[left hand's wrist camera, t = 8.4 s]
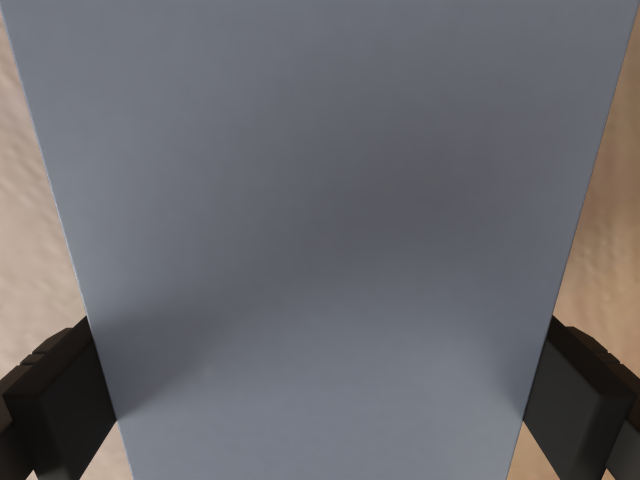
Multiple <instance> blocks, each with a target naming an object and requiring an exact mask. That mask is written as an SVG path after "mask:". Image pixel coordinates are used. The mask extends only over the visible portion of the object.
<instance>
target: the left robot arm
mask: <svg viewBox="0 0 640 480" xmlns="http://www.w3.org/2000/svg"><path fill="white" fill-rule="evenodd" d="M607 351H608V350H606V349H605V348H604V347H603V346H602V345H601V344H600V343H598V342H597V341H596V340H595V339H594V338H593V337H591V336H589V335H587V334H586V333H584V332H582V331H580V330H579V329H577V328H575V327H565V326H564V325H563V324H562V323H561V322H560V321H559V320H558V319H557V318H556V317H554V316H553V315H552V318H551V322H550V325H549V329H548V332H547V336H546V339H545V343H544V347H543V350H542V354H541V357H540V361H539V365H538V368H537V372H536V375H535V379H534V382H533V386H532V390H531V393H530V397H529V400H528V404H527V408H526V411H525V415H524V418H523V421H524V423H525V424H526V426H527V427H528V429H529V431H530V432H531V434H532V435H533V437H534V439H535V440H536V442H537V443H538V445H539V447H540V448H541V450H542V451H543V453H544V454H545V456H546V458H547V459H548V461H549V462H550V464H551V466H552V467H553V469H554V470H555V472H556V474H557V475H558V477H559V478H560V480H601V479H602V477H603V475H604V472H605V470H606V468H607V469H608V470H609V472H610V473H611V474H612V476H613V477H614V478H615V480H640V379H639V378H638V377H637V376H636V375H635V374H634V373H633V372H631V371H630V370H629V369H628V368H627V367H626V366H625V365H623V364H620V361H619V360H618V359H617V358H616V357H614V356H613V355H612V354H611V353H608V352H607ZM115 422H116V417H115V414H114V410H113V407H112V403H111V400H110V396H109V393H108V389H107V386H106V382H105V379H104V375H103V372H102V368H101V364H100V361H99V357H98V354H97V350H96V347H95V343H94V340H93V336H92V333H91V329H90V326H89V322H88V319H87V315H86V316H85V317H84V318H83V319H82V320H81V321H80V322H79V323H78V324H77V325H75V326H74V327H73V328H65V329H64V330H62V331H60V332H58V333H57V334H55V335H53V336H51V337H49V338H48V339H46V340H45V341H44V342H43V343H42V344H41V345H40V346H38V347H37V348H36V349H35V350H34V351H33V352H32V354H29V355H28V356H27V357H26V358H25V359H24V360H23V361H21V362H20V365H19V366H16V367H15V368H14V369H12V370H11V371H10V372H9V373H8V374H7V375H6V376H5V377H3V378H2V379H1V380H0V480H26V478H27V477H28V476H29V475H30V473H31V472H32V471H33V469H34V471H35V474H36V476H37V478H38V480H79V479H80V478H81V476H82V475H83V473H84V471H85V470H86V468H87V467H88V465H89V463H90V462H91V460H92V459H93V457H94V455H95V454H96V452H97V451H98V449H99V447H100V446H101V444H102V443H103V441H104V440H105V438H106V436H107V435H108V433H109V432H110V430H111V428H112V427H113V425H114V424H115Z"/></svg>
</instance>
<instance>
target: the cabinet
mask: <svg viewBox="0 0 640 480" xmlns="http://www.w3.org/2000/svg"><path fill="white" fill-rule="evenodd" d="M639 3H640V0H0V11H1V15H2V18H3V22H4V25H5V29H6V32H7V36H8V39H9V43H10V46H11V50H12V54H13V57H14V61H15V64H16V68H17V71H18V75H19V78H20V82H21V85H22V89H23V92H24V96H25V99H26V103H27V107H28V110H29V114H30V117H31V121H32V124H33V128H34V131H35V135H36V138H37V142H38V145H39V149H40V152H41V156H42V160H43V163H44V167H45V170H46V174H47V177H48V181H49V184H50V188H51V191H52V195H53V198H54V202H55V205H56V209H57V213H58V216H59V220H60V223H61V227H62V230H63V234H64V237H65V241H66V244H67V248H68V251H69V255H70V258H71V262H72V266H73V269H74V273H75V276H76V280H77V283H78V287H79V290H80V294H81V297H82V301H83V304H84V308H85V311H86V315H87V319H88V322H89V326H90V329H91V333H92V336H93V340H94V343H95V347H96V350H97V354H98V357H99V361H100V364H101V368H102V372H103V375H104V379H105V382H106V386H107V389H108V393H109V396H110V400H111V403H112V407H113V410H114V414H115V417H116V421H117V425H118V428H119V432H120V435H121V439H122V442H123V446H124V449H125V453H126V456H127V460H128V463H129V467H130V470H131V474H132V478H133V480H506V479H507V476H508V472H509V468H510V465H511V461H512V458H513V454H514V451H515V447H516V443H517V440H518V436H519V433H520V429H521V425H522V422H523V418H524V415H525V411H526V408H527V404H528V400H529V397H530V393H531V390H532V386H533V382H534V379H535V375H536V372H537V368H538V365H539V361H540V357H541V354H542V350H543V347H544V343H545V339H546V336H547V332H548V329H549V325H550V322H551V318H552V314H553V311H554V307H555V304H556V300H557V297H558V293H559V289H560V286H561V282H562V279H563V275H564V271H565V268H566V264H567V261H568V257H569V254H570V250H571V246H572V243H573V239H574V236H575V232H576V228H577V225H578V221H579V218H580V214H581V211H582V207H583V203H584V200H585V196H586V193H587V189H588V186H589V182H590V178H591V175H592V171H593V168H594V164H595V160H596V157H597V153H598V150H599V146H600V143H601V139H602V135H603V132H604V128H605V125H606V121H607V117H608V114H609V110H610V107H611V103H612V100H613V96H614V92H615V89H616V85H617V82H618V78H619V75H620V71H621V67H622V64H623V60H624V57H625V53H626V49H627V46H628V42H629V39H630V35H631V32H632V28H633V24H634V21H635V17H636V14H637V10H638V6H639Z"/></svg>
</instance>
